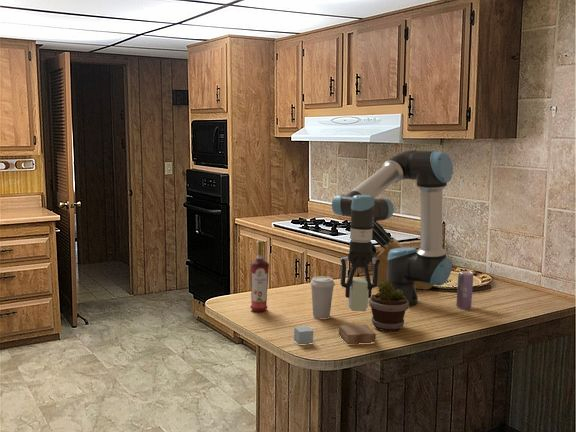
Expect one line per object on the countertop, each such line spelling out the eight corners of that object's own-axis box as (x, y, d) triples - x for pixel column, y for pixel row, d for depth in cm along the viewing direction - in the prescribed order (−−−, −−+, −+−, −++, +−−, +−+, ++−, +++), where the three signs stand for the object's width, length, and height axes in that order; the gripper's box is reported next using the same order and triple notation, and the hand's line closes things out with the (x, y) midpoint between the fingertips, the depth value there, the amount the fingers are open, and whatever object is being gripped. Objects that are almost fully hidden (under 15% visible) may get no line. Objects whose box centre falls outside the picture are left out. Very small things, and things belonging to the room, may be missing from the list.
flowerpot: (380, 318, 245) (382, 268, 242) (415, 327, 235) (418, 275, 232) (359, 327, 233) (361, 274, 230) (395, 337, 224) (398, 282, 221)
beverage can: (472, 306, 263) (474, 271, 261) (469, 310, 258) (472, 274, 256) (457, 304, 266) (459, 270, 264) (454, 308, 260) (457, 273, 258)
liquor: (250, 313, 247) (251, 242, 243) (248, 307, 254) (249, 239, 250) (269, 312, 248) (270, 242, 244) (266, 307, 255) (268, 239, 251)
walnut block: (365, 335, 226) (365, 324, 226) (375, 344, 217) (375, 333, 216) (338, 336, 224) (339, 325, 223) (347, 346, 214) (347, 335, 214)
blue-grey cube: (307, 339, 219) (307, 326, 218) (312, 344, 214) (313, 330, 214) (293, 341, 217) (294, 327, 217) (299, 346, 213) (299, 331, 212)
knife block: (356, 280, 302) (359, 216, 298) (431, 284, 298) (435, 220, 293) (356, 286, 291) (359, 220, 287) (434, 291, 287) (438, 223, 282)
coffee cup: (316, 321, 239) (318, 283, 237) (304, 314, 247) (305, 277, 245) (338, 318, 243) (339, 280, 241) (325, 311, 252) (326, 274, 249)
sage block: (363, 306, 221) (364, 278, 220) (366, 310, 216) (367, 282, 215) (349, 306, 221) (350, 278, 219) (351, 310, 216) (353, 282, 214)
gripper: (336, 242, 211) (333, 309, 214) (389, 243, 212) (385, 310, 215) (333, 238, 218) (330, 303, 221) (384, 238, 219) (381, 303, 223)
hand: (357, 306), depth 218 cm, fingers closed on sage block, 5 cm apart
